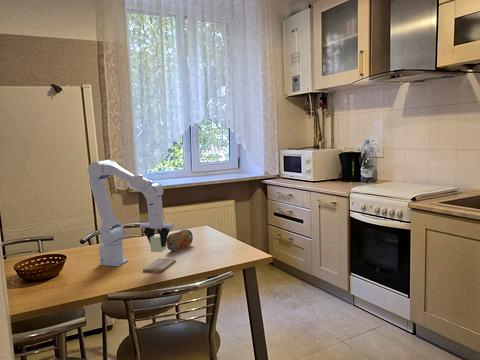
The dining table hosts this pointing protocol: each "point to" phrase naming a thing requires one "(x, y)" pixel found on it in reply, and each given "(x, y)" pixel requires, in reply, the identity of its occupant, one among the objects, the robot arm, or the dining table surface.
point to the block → (156, 243)
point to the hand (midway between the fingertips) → (158, 246)
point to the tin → (179, 240)
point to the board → (159, 265)
